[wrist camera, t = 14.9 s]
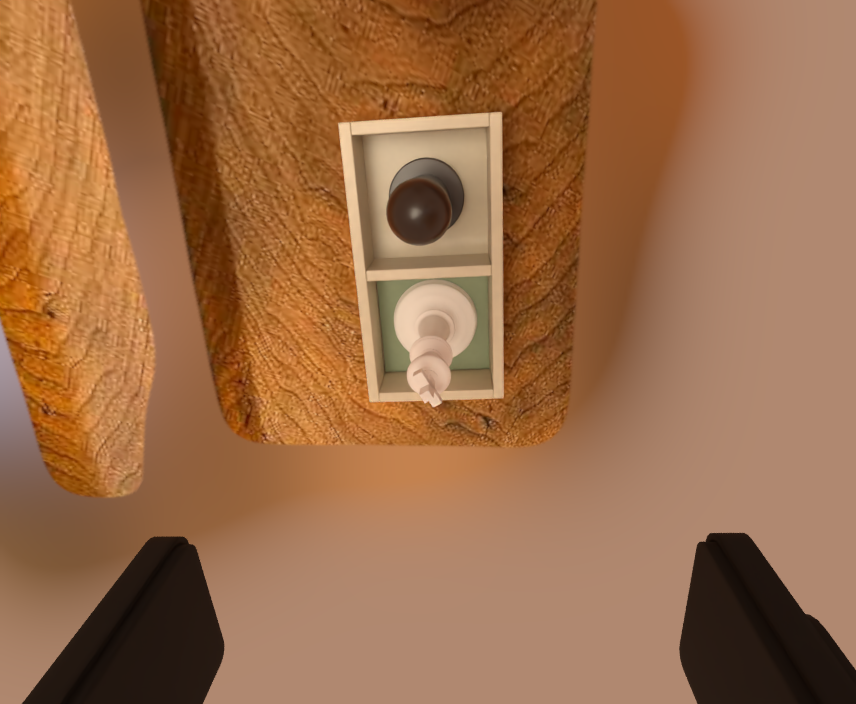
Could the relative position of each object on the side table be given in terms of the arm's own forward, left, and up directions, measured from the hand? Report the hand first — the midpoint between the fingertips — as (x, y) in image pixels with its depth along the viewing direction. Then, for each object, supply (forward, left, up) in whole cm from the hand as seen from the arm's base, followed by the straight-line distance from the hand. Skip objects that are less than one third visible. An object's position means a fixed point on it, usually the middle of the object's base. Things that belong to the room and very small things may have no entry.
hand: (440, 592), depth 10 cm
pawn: (-3, -4, -22) cm, 23 cm away
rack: (-1, -2, -23) cm, 23 cm away
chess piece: (+2, 0, -22) cm, 22 cm away
